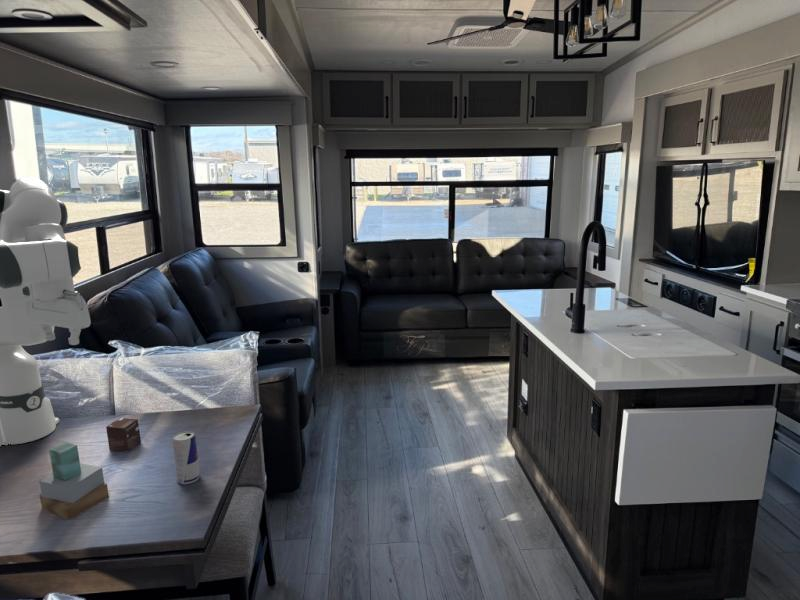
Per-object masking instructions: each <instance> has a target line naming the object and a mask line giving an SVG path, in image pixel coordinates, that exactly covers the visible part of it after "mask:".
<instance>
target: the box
mask: <svg viewBox="0 0 800 600" xmlns="http://www.w3.org/2000/svg"><path fill="white" fill-rule="evenodd" d="M105 429H106V434H107V435H106V436H107V441H108V442H107V444H108V448H109V451H112V452H113V451H114V452H125V453H128V452H130V451H131V450H133V449H134V448H136V447H137V446H138V445H140V444H141V443H142V439H141V432H140V425H139V418H127V417H126V418H125V417H124V418H123V417H120V418H118V419H117V420H115V421H113V422H111V423H109V424H108V425H107V426H105Z"/></svg>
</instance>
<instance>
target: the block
mask: <svg viewBox="0 0 800 600" xmlns="http://www.w3.org/2000/svg"><path fill="white" fill-rule="evenodd" d="M48 451H49V458H50V464H51V470H52V474H53V476H54V478H57V479H60V480H63V481H66V480H68V479H70V478H72V477H74V476H76V475H78V474H80V473H81V467H80V463H81V461H80V456H79V449H78V445H77V444H73V443H70V442H67V441H65V442H63V443H60V444H59V445H56V446H54V447H52V448H49V450H48Z"/></svg>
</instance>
